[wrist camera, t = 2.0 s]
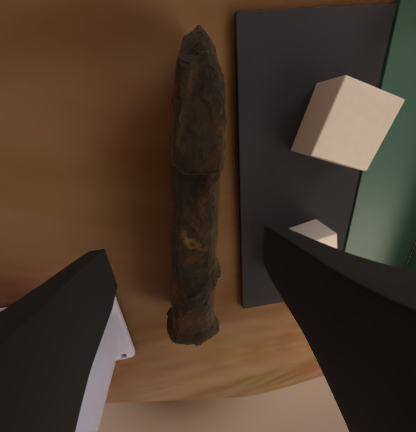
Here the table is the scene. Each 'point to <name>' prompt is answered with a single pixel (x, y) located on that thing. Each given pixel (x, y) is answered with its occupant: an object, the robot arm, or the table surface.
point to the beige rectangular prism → (346, 122)
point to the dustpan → (391, 161)
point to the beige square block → (317, 232)
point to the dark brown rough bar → (196, 188)
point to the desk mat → (294, 121)
